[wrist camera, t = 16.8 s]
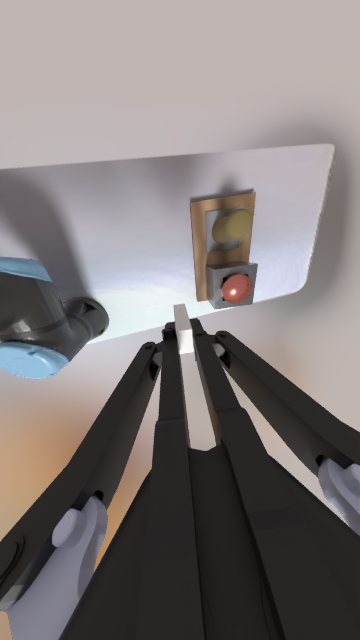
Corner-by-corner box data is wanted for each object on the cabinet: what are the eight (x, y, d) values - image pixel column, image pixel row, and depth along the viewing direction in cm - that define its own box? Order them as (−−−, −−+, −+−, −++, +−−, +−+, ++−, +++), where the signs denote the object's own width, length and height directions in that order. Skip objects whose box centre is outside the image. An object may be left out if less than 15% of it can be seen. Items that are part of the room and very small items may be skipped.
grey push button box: (206, 297, 44) (214, 309, 35) (205, 265, 39) (214, 269, 30) (236, 293, 44) (252, 304, 35) (238, 260, 39) (257, 263, 30)
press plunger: (212, 294, 41) (222, 305, 33) (212, 271, 38) (223, 276, 30) (235, 291, 41) (250, 301, 33) (236, 267, 38) (254, 272, 29)
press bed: (196, 299, 46) (198, 302, 44) (189, 204, 34) (191, 201, 32) (242, 293, 46) (246, 295, 44) (251, 195, 34) (257, 191, 32)
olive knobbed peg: (234, 214, 33) (258, 199, 24) (234, 241, 36) (256, 238, 26) (210, 220, 34) (225, 207, 24) (212, 246, 37) (226, 244, 27)
